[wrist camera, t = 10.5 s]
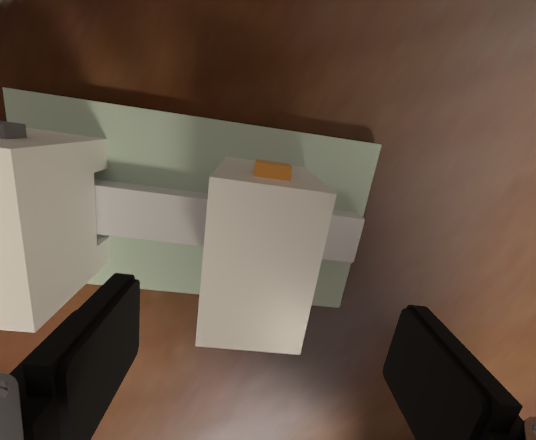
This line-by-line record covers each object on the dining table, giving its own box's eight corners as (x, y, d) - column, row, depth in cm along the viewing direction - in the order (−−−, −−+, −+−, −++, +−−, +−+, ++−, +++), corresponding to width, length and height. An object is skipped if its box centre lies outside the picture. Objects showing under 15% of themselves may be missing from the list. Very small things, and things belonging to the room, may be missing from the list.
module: (307, 158, 18) (340, 179, 11) (285, 279, 21) (300, 354, 14) (227, 146, 17) (210, 160, 11) (214, 271, 20) (194, 346, 13)
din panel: (375, 143, 19) (459, 157, 11) (335, 300, 22) (378, 391, 15) (16, 89, 17) (-183, 60, 9) (37, 270, 20) (-91, 358, 13)
